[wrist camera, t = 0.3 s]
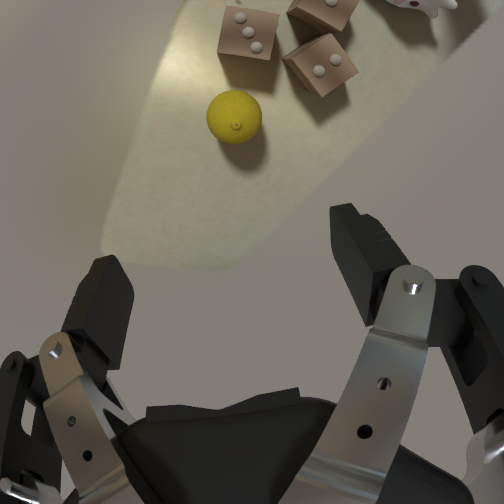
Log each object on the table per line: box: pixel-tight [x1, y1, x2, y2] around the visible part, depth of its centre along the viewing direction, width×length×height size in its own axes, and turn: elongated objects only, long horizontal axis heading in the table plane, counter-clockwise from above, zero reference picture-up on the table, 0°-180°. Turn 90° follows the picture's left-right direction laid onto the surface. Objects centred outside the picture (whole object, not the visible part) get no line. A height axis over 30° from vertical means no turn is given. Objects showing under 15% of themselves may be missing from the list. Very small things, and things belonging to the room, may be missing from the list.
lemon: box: [206, 90, 262, 144], centre depth 28 cm, size 6×6×8 cm
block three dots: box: [217, 6, 280, 61], centre depth 24 cm, size 5×5×5 cm
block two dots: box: [282, 33, 359, 97], centre depth 27 cm, size 5×5×5 cm
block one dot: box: [286, 0, 360, 34], centre depth 22 cm, size 5×5×5 cm
